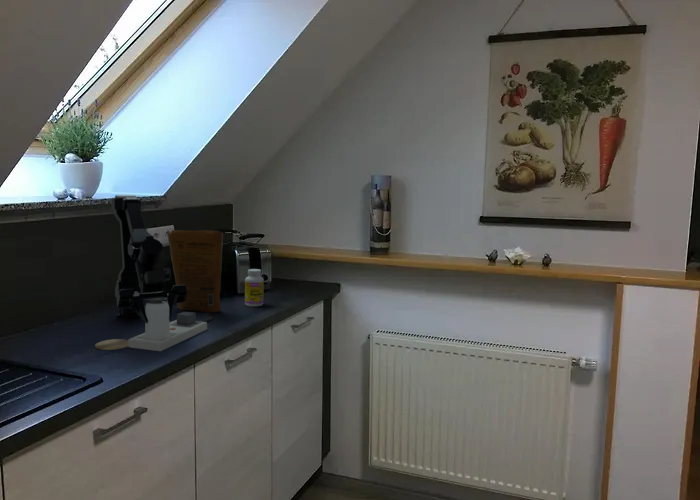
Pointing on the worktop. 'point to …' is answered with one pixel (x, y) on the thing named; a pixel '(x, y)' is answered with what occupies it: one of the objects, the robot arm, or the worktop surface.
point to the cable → (208, 319)
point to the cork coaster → (112, 344)
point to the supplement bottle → (254, 288)
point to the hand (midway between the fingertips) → (158, 321)
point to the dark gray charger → (186, 318)
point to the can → (157, 320)
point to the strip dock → (176, 335)
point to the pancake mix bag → (198, 267)
